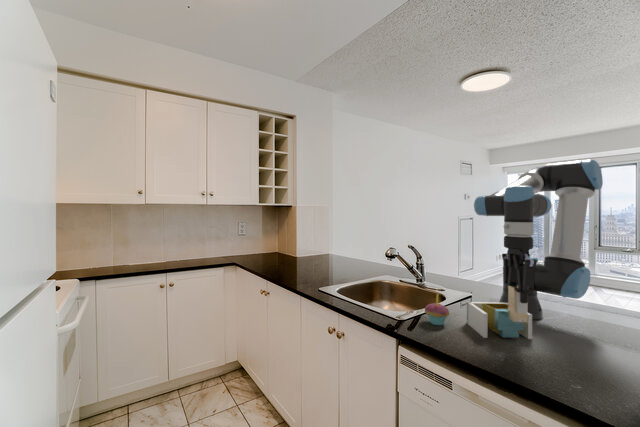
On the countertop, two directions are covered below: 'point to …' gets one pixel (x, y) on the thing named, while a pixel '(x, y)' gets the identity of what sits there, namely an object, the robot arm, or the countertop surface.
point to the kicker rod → (510, 316)
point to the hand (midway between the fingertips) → (517, 310)
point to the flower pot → (492, 313)
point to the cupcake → (436, 312)
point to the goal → (480, 320)
